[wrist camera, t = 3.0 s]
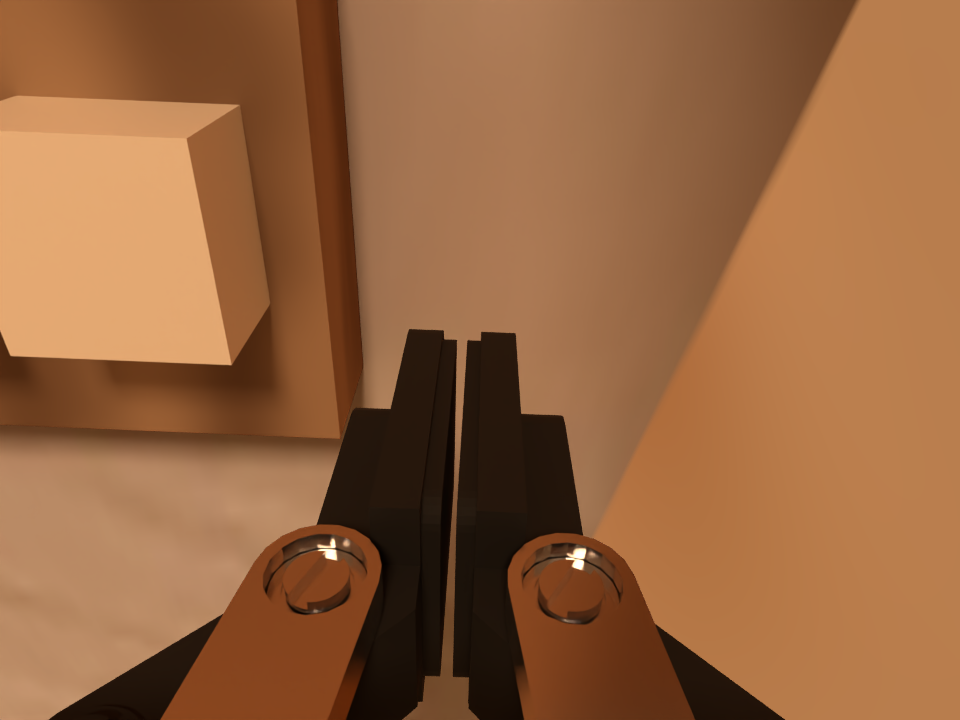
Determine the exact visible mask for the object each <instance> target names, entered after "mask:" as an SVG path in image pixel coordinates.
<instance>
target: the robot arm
mask: <svg viewBox="0 0 960 720" xmlns="http://www.w3.org/2000/svg"><path fill="white" fill-rule="evenodd" d="M456 359H457V340H444V331H443V330H416V329H409V331H408V335H407V339H406V344H405V348H404V353H403V357H402V361H401V366H400V370H399V375H398V379H397V383H396V388H395V392H394V397H393V401H392V405H391V409H373V408H355V409H354V410H353V412H352V414H351V417H350V420H349V423H348V426H347V430H346V433H345V436H344V439H343V442H342V446H341V449H340V452H339V455H338V458H337V462H336V465H335V468H334V471H333V474H332V478H331V481H330V484H329V487H328V490H327V494H326V497H325V500H324V503H323V506H322V510H321V513H320V516H319V519H318V522H317V525H315V526H309V527H304V528H300V529H297V530H295V531H293V532H290V533H288V534H286V535H283V536H281V537H280V538H279V539H277V540H276V541H274V542H273V543H272V544H270V545H269V546H268V547H266V548H265V550H264V551H263V552H262V553H261V554H260V556H259V557H258V558H257V559H256V561H255V562H254V563H253V565H252V567H251V569H250V570H249V572H248V574H247V575H246V577H245V579H244V580H243V582H242V584H241V585H240V587H239V589H238V590H237V592H236V594H235V595H234V597H233V599H232V600H231V602H230V604H229V605H228V607H227V609H226V611H225V612H224V614H222V615H221V616H219V617H217V618H216V619H214V620H212V621H211V622H209V623H207V624H206V625H204V626H202V627H201V628H199V629H197V630H196V631H194V632H192V633H190V634H189V635H187V636H185V637H184V638H182V639H180V640H179V641H177V642H175V643H174V644H172V645H170V646H169V647H167V648H165V649H164V650H162V651H160V652H159V653H157V654H155V655H154V656H152V657H150V658H149V659H147V660H145V661H144V662H142V663H140V664H139V665H137V666H135V667H134V668H132V669H130V670H129V671H127V672H125V673H124V674H122V675H120V676H119V677H117V678H115V679H114V680H112V681H110V682H109V683H107V684H105V685H104V686H102V687H100V688H99V689H97V690H95V691H94V692H92V693H90V694H89V695H87V696H85V697H84V698H82V699H80V700H79V701H77V702H75V703H74V704H72V705H70V706H69V707H67V708H65V709H64V710H62V711H60V712H58V713H57V714H56V715H54V716H53V717H52V718H50V719H49V720H402V719H403V718H404V717H406V716H407V715H408V714H409V713H410V712H412V711H413V710H414V709H415V708H416V707H417V705H418V702H422V701H423V691H424V680H425V676H440V671H441V658H442V644H443V630H444V616H445V602H446V588H447V574H448V560H449V546H450V532H451V518H452V504H453V490H454V460H455V409H456ZM453 677H469V696H468V703H469V709H470V710H471V711H472V712H473V713H474V714H475V715H476V716H477V717H478V719H479V720H785V719H783V718H782V717H781V716H779V715H778V714H776V713H775V712H774V711H772V710H771V709H770V708H768V707H767V706H766V705H764V704H763V703H762V702H760V701H759V700H757V699H756V698H755V697H754V696H752V695H750V694H749V693H748V692H747V691H745V690H744V689H743V688H741V687H740V686H739V685H737V684H736V683H734V682H733V681H732V680H730V679H729V678H728V677H726V676H725V675H724V674H722V673H721V672H720V671H718V670H717V669H715V668H714V667H713V666H711V665H710V664H708V663H707V662H706V661H705V660H703V659H702V658H700V657H699V656H698V655H696V654H695V653H694V652H692V651H691V650H690V649H688V648H687V647H686V646H684V645H683V644H682V643H680V642H679V641H677V640H676V639H675V638H673V637H672V636H671V635H669V634H668V633H667V632H665V631H664V630H662V629H661V628H660V627H658V626H657V625H656V624H655V623H654V621H653V619H652V616H651V614H650V611H649V609H648V607H647V605H646V602H645V600H644V597H643V595H642V592H641V590H640V588H639V586H638V583H637V581H636V578H635V576H634V574H633V572H632V571H631V569H630V568H629V566H628V565H627V563H626V561H625V560H624V559H623V558H622V557H621V556H620V555H618V554H617V553H616V552H615V551H614V550H613V549H612V548H610V547H608V546H607V545H605V544H603V543H601V542H599V541H597V540H595V539H593V538H589V537H586V536H583V532H582V526H581V519H580V513H579V507H578V501H577V495H576V489H575V482H574V476H573V470H572V464H571V458H570V452H569V445H568V439H567V433H566V427H565V422H564V418H563V416H561V415H534V414H521V406H520V391H519V377H518V362H517V347H516V334H515V333H495V332H481V341H470V340H468V341H467V356H466V372H465V388H464V404H463V420H462V436H461V452H460V468H459V484H458V501H457V525H456V566H455V609H454V652H453Z"/></svg>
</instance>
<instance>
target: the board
mask: <svg viewBox="0 0 960 720" xmlns="http://www.w3.org/2000/svg"><path fill="white" fill-rule="evenodd" d="M14 96H37V97H61V98H86V99H110V100H134V101H158V102H182V103H206V104H231V105H240V109H241V115H242V122H243V128H244V135H245V141H246V148H247V155H248V161H249V168H250V174H251V181H252V187H253V194H254V200H255V207H256V214H257V220H258V227H259V233H260V240H261V246H262V253H263V259H264V266H265V273H266V279H267V286H268V292H269V299H270V305H269V306H268V308H267V310H266V311H265V313H264V314H263V316H262V318H261V319H260V321H259V322H258V324H257V326H256V327H255V329H254V330H253V332H252V333H251V335H250V337H249V338H248V340H247V341H246V343H245V345H244V346H243V348H242V349H241V351H240V353H239V354H238V356H237V357H236V359H235V360H234V362H233V364H232V365H216V364H192V363H168V362H144V361H120V360H95V359H71V358H47V357H23V356H10V354H9V351H8V349H7V346H6V344H5V341H4V339H3V337H2V334H1V332H0V425H21V426H45V427H69V428H93V429H117V430H141V431H165V432H189V433H214V434H238V435H262V436H286V437H310V438H334V439H340V438H341V435H342V432H343V429H344V426H345V422H346V419H347V416H348V413H349V410H350V407H351V403H352V400H353V397H354V394H355V391H356V388H357V385H358V381H359V378H360V375H361V372H362V369H363V357H362V343H361V329H360V315H359V301H358V287H357V273H356V259H355V245H354V231H353V217H352V203H351V189H350V175H349V162H348V148H347V134H346V120H345V106H344V92H343V78H342V64H341V50H340V36H339V22H338V8H337V0H0V101H1V100H5V99H8V98H11V97H14Z"/></svg>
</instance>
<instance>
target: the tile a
mask: <svg viewBox="0 0 960 720" xmlns="http://www.w3.org/2000/svg"><path fill="white" fill-rule="evenodd" d="M269 305H270V299H269V292H268V286H267V279H266V273H265V266H264V259H263V253H262V246H261V240H260V233H259V227H258V220H257V214H256V207H255V200H254V194H253V187H252V181H251V174H250V168H249V161H248V155H247V148H246V141H245V135H244V128H243V122H242V115H241V109H240V105H231V104H206V103H182V102H158V101H134V100H110V99H86V98H61V97H37V96H14V97H11V98H8V99H5V100H1V101H0V332H1V334H2V337H3V339H4V341H5V344H6V346H7V349H8V351H9V354H10V356H23V357H47V358H71V359H95V360H120V361H144V362H168V363H192V364H216V365H232V364H233V362H234V360H235V359H236V357H237V356H238V354H239V353H240V351H241V349H242V348H243V346H244V345H245V343H246V341H247V340H248V338H249V337H250V335H251V333H252V332H253V330H254V329H255V327H256V326H257V324H258V322H259V321H260V319H261V318H262V316H263V314H264V313H265V311H266V310H267V308H268V306H269Z"/></svg>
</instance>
